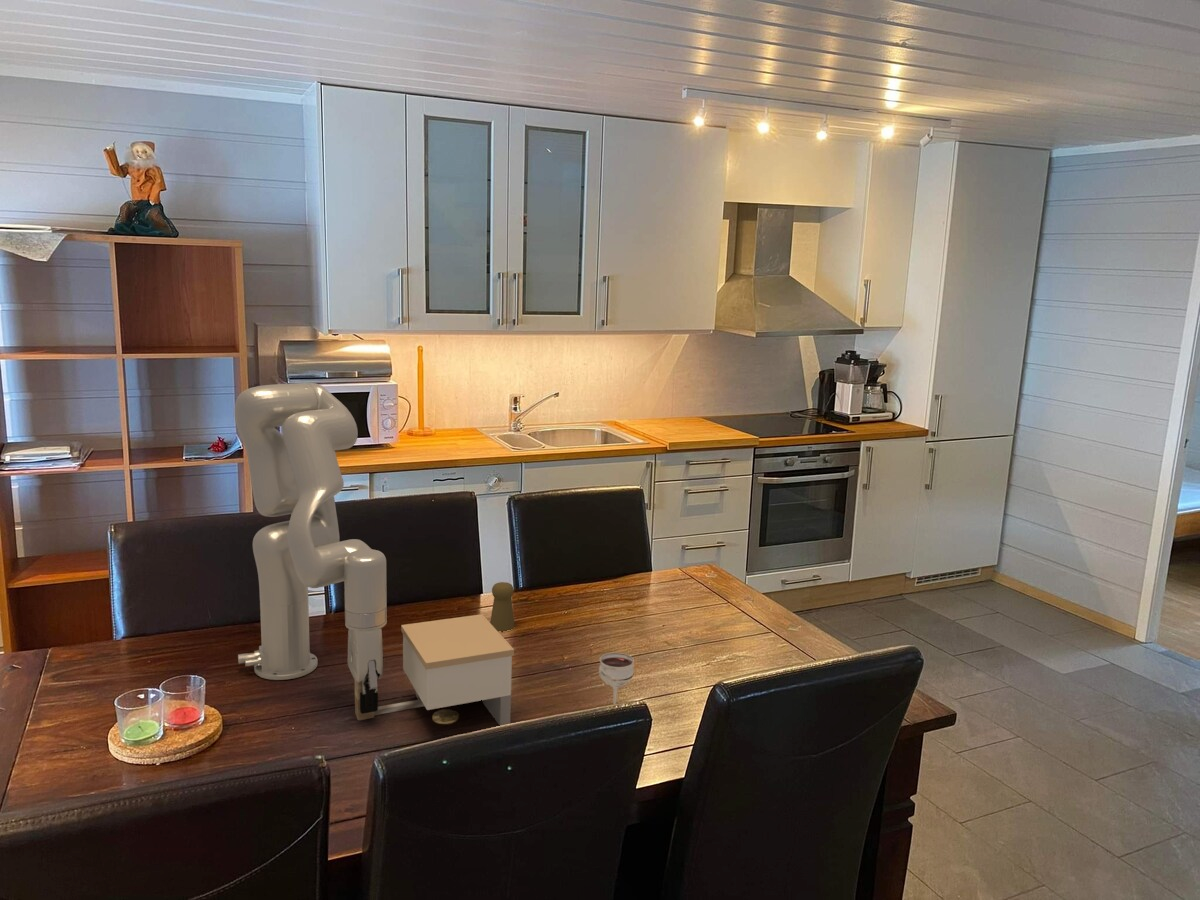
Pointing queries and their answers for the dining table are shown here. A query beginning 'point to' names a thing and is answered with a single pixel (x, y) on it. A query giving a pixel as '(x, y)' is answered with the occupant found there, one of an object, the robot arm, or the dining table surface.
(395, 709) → the wooden mallet
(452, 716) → the brass disc
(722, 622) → the dining table surface
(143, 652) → the dining table surface
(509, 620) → the olive pawn
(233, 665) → the dining table surface
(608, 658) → the wineglass
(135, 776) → the dining table surface
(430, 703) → the low cabinet
